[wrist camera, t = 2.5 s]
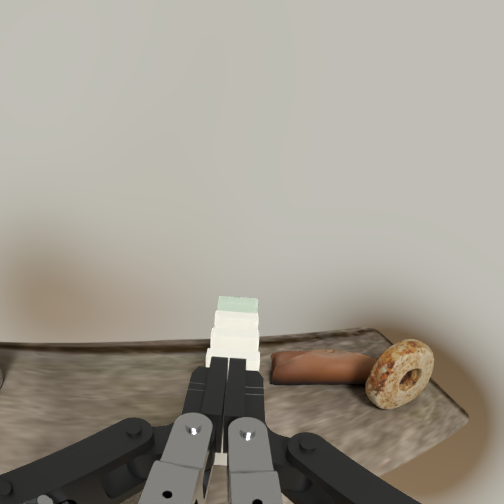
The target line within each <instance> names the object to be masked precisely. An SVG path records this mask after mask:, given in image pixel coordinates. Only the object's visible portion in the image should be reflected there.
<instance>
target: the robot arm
mask: <svg viewBox="0 0 504 504" xmlns="http://www.w3.org/2000/svg"><path fill="white" fill-rule="evenodd" d="M2 383H3V373H2V371H1V368H0V387H1V385H2ZM222 438H223V453H227V499H228V504H283V501H282V495H281V492H282V493H283V494H284V495H285V496H286V497H287V498H288V499H289V500H291V501H292V502H293V503H294V504H421V503H419V502H418V501H416V500H414V499H412V498H411V497H409V496H407V495H406V494H404V493H403V492H401V491H399V490H398V489H396V488H394V487H393V486H391V485H390V484H388V483H386V482H385V481H383V480H382V479H380V478H379V477H377V476H376V475H374V474H373V473H371V472H370V471H368V470H367V469H365V468H364V467H362V466H361V465H359V464H358V463H356V462H355V461H354V460H352V459H351V458H349V457H348V456H346V455H345V454H344V453H342V452H341V451H339V450H338V449H337V448H335V447H334V446H332V445H331V444H330V443H328V442H327V441H326V440H324V439H323V438H322V437H320V436H319V435H316V434H313V433H308V432H304V433H299V434H296V435H294V436H293V437H291V438H288V437H284V436H281V435H278V434H276V433H274V432H272V431H271V430H270V429H269V428H268V427H267V425H266V423H265V412H264V389H263V378H262V376H261V375H260V373H259V372H258V371H252V370H246V359H242V358H230V360H229V369H228V358H227V357H215V356H212V357H211V362H210V367H200V366H199V367H198V368H197V369H196V370H195V371H194V372H193V373H192V375H191V379H190V383H189V387H188V391H187V395H186V399H185V403H184V407H183V412H182V415H181V416H179V417H178V418H177V419H176V420H175V422H174V423H173V424H170V425H167V426H159V427H151V425H150V424H149V423H148V422H147V421H145V420H143V419H141V418H127V419H124V420H122V421H120V422H118V423H116V424H114V425H112V426H110V427H108V428H106V429H104V430H102V431H100V432H98V433H96V434H94V435H92V436H90V437H88V438H86V439H83V440H81V441H79V442H77V443H75V444H73V445H71V446H68V447H66V448H64V449H62V450H60V451H57V452H55V453H53V454H51V455H48V456H46V457H44V458H41V459H39V460H37V461H34V462H32V463H29V464H27V465H25V466H22V467H20V468H17V469H15V470H12V471H9V472H7V473H4V474H2V475H0V504H119V503H121V502H123V501H125V500H126V499H128V498H130V497H132V496H133V495H135V494H137V493H138V492H140V491H142V490H143V492H142V495H141V497H140V500H139V503H138V504H205V503H206V498H207V494H208V489H209V485H210V480H211V475H212V471H213V464H214V461H215V453H221V448H222Z"/></svg>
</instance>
